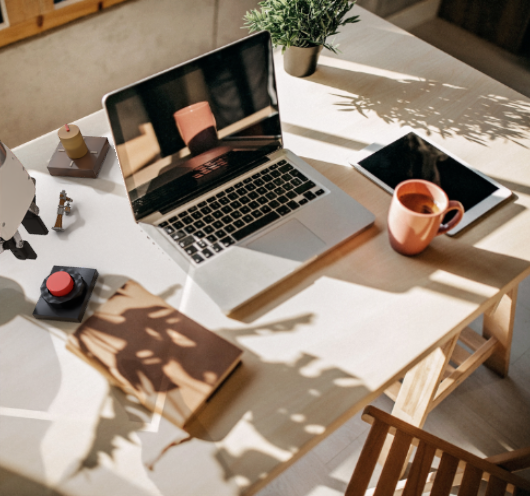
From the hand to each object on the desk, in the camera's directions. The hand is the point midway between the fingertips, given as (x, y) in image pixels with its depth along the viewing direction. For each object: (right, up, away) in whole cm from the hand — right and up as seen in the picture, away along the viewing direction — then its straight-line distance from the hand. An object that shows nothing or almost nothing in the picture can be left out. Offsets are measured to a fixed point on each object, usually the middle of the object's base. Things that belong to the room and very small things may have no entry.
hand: (32, 244), depth 74 cm
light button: (0, -7, +10) cm, 12 cm away
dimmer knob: (-5, +20, +30) cm, 36 cm away
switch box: (0, -9, +12) cm, 15 cm away
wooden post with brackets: (-5, +5, +23) cm, 24 cm away
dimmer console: (-5, +18, +32) cm, 37 cm away
